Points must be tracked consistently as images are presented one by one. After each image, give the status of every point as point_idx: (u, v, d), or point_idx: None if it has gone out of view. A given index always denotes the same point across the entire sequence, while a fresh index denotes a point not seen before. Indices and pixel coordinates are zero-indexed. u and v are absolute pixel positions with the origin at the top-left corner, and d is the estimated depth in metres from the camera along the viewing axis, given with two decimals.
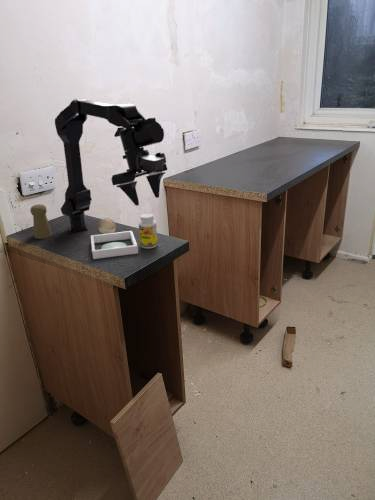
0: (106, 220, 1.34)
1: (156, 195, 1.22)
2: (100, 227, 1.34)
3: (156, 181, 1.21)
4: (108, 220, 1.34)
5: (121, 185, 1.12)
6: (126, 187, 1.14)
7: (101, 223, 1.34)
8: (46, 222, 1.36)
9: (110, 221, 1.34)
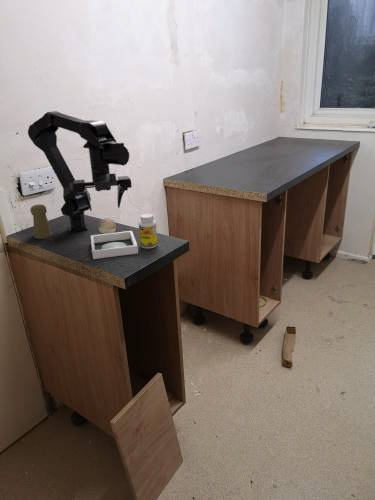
0: (106, 220, 1.34)
1: None
2: (100, 227, 1.34)
3: (118, 194, 1.32)
4: (108, 220, 1.34)
5: None
6: None
7: (101, 223, 1.34)
8: (46, 222, 1.36)
9: (110, 221, 1.34)
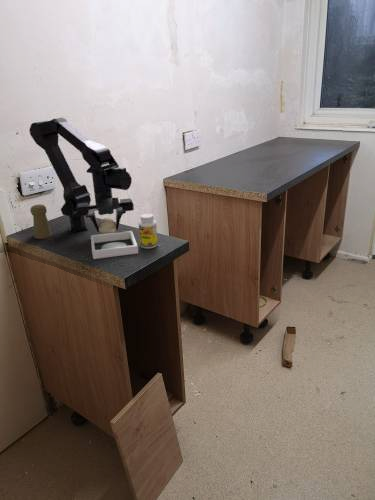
0: (106, 220, 1.34)
1: (116, 227, 1.37)
2: (100, 227, 1.34)
3: (116, 217, 1.35)
4: (108, 220, 1.34)
5: None
6: None
7: (101, 223, 1.34)
8: (46, 222, 1.36)
9: (110, 221, 1.34)
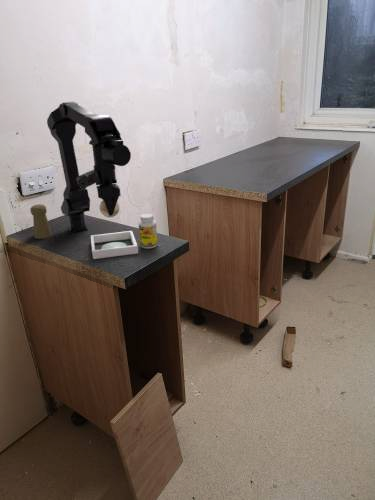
0: None
1: None
2: None
3: None
4: None
5: None
6: None
7: None
8: (46, 222, 1.36)
9: (104, 202, 1.19)
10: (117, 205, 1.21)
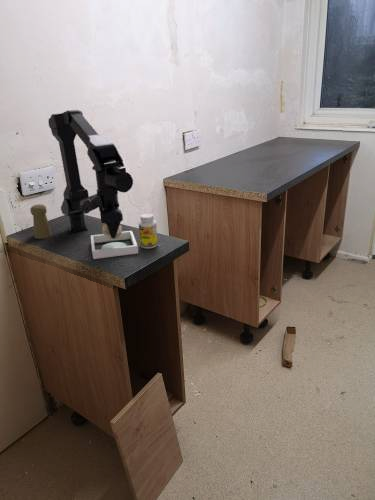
0: None
1: None
2: None
3: None
4: None
5: None
6: None
7: None
8: (46, 222, 1.36)
9: (106, 225, 1.22)
10: (119, 228, 1.24)
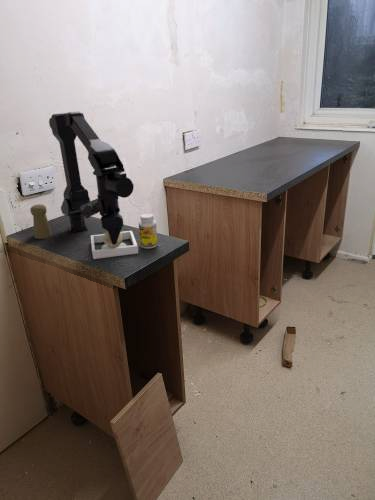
0: None
1: None
2: None
3: None
4: None
5: None
6: None
7: None
8: (46, 222, 1.36)
9: (107, 233, 1.23)
10: (120, 236, 1.25)
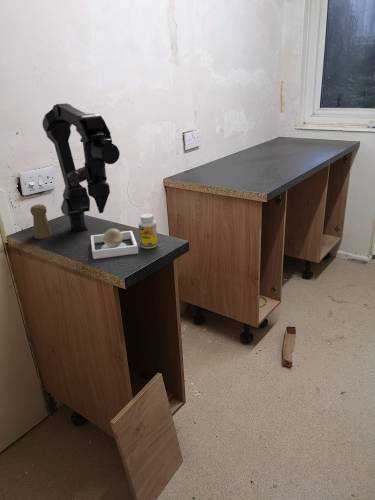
0: (108, 230, 1.25)
1: None
2: None
3: None
4: (108, 231, 1.24)
5: None
6: None
7: None
8: (46, 222, 1.36)
9: (107, 233, 1.24)
10: (120, 236, 1.25)
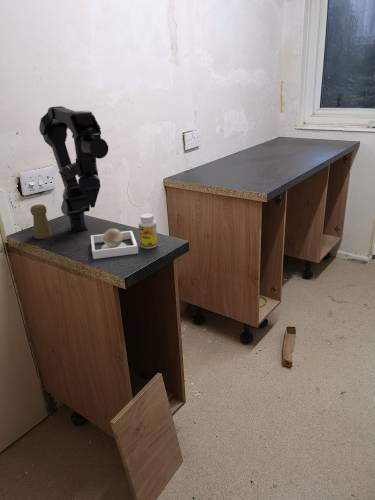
0: (108, 230, 1.25)
1: None
2: None
3: None
4: (108, 231, 1.24)
5: None
6: None
7: None
8: (46, 222, 1.36)
9: (107, 232, 1.24)
10: (120, 236, 1.25)
